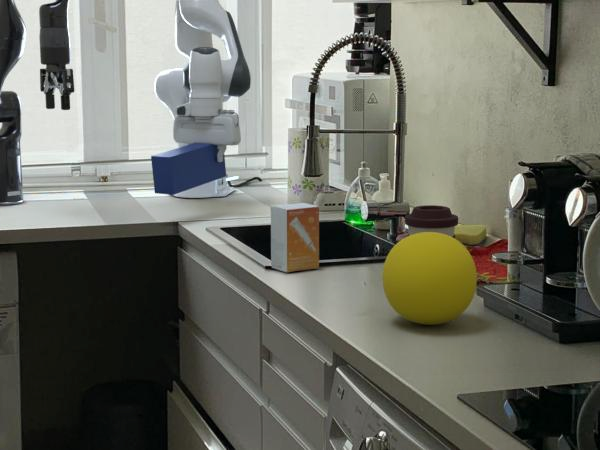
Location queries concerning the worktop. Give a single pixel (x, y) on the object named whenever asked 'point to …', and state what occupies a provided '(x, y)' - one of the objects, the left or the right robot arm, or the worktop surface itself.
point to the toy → (429, 278)
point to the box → (186, 168)
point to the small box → (295, 237)
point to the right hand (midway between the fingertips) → (207, 161)
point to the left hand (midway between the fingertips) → (58, 109)
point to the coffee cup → (431, 220)
